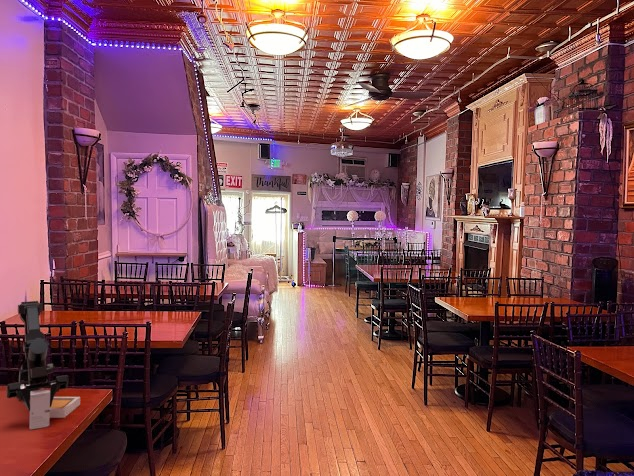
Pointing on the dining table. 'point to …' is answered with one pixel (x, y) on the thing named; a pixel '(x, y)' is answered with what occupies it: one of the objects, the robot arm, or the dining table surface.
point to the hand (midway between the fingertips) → (40, 408)
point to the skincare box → (39, 408)
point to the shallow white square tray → (67, 409)
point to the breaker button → (59, 403)
